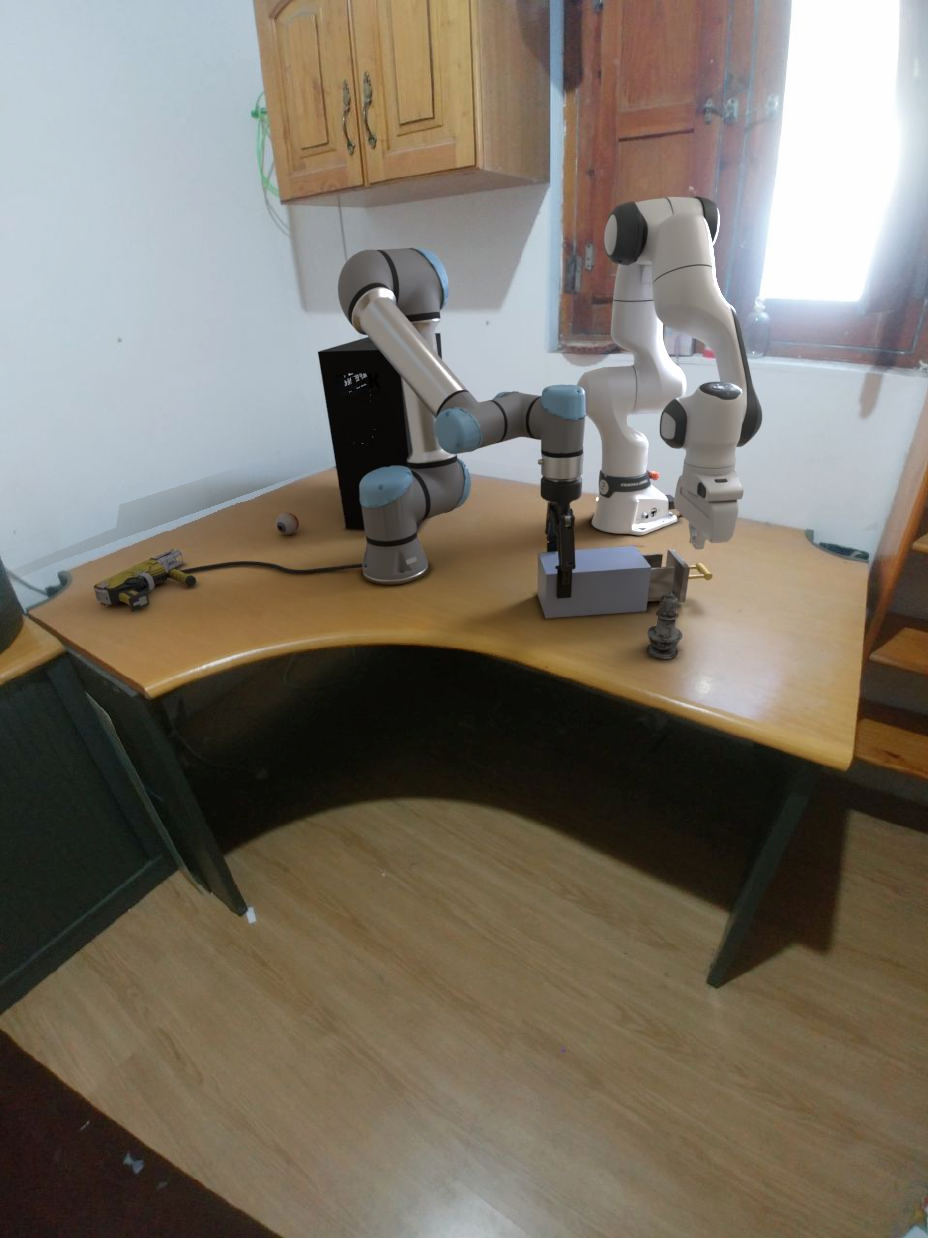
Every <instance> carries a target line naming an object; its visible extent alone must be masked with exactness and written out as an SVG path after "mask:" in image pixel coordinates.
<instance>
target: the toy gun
mask: <svg viewBox="0 0 928 1238" xmlns="http://www.w3.org/2000/svg"><path fill="white" fill-rule="evenodd" d="M179 557H181V560H177V558H179ZM183 564H184V558H183V552H182V551H181V550H179V549H174V548H171V549H169V550H167V551H164V552H163V553H161V554H159V555H156V556H155V557H150V558H148V559H146V560H144V561H142V562H139V563H138V564H135V565H133V566H131V567H129V568H127V569H125V570H122V571H120V572H118V573H116V574H113V575H112V576H110V577H108V578H106V579H104V580H101V581H99V582H97V583H95V584H93V590H94V594H95V598H96V600H97V603H99V604H100V605H101V606H105V607H107V606H117V605H121V604H127V605H128V606H129V607H130V611H131V612H136V611H138V610H141V609H143V608H145V607H147V606H148V607H149V606H150V599H149V595H148V593H149V592H151V591H154V590H155V586H156V585H159V584H161V583H164V582H165V581H168V579H171V580H174V581H177V582H178V583H182V584H183V585H184V584H185V585H186V586H187V587H193V586H195V585H196V584H197V578H196V576H194V575H192V574H188V573H183V572H181V571H179V569H176V568H177V567H180V565H183Z"/></svg>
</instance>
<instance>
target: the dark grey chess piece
mask: <svg viewBox="0 0 928 1238" xmlns="http://www.w3.org/2000/svg"><path fill="white" fill-rule="evenodd" d="M668 593H669V594H665V595H663V596H662V597H661V599H660V600H659V605H658V607H659V608H658V610H657V611H656V612H655V616H656V617H657V619H656V624H655V625H651V626H650V627H649V628H648V629H647V631H646V634H647V636H648V640H649V642H650V643H649V644H648V645H647V647H646V651H647V653H648V654H649V655H651V656H652V657H654V658H657V659H661V660H669V659H674V658H675V657H677V656H678V655H679V650H678V648H677V646H678V644H679V643H680V641H681V640H682V638H683V633H682V631H681V630H680V629H678V628H677V627H676V621H677V619H678V618H679V613H678V611H677V610H678V604H679V602H678V598H677V597H676V596H675V595H673V594H672V591H671V590H670V591H669V592H668Z"/></svg>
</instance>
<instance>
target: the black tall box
mask: <svg viewBox="0 0 928 1238" xmlns="http://www.w3.org/2000/svg"><path fill="white" fill-rule="evenodd" d="M435 336H436V344H437V352H438V356H439V357H440V358H441V359H442V360H443V351H442V338H441V336H442V335H441V332H435ZM317 355H318V363H319V368H320V374H321V381H322V386H323V393H324V400H325V407H326V412H327V419H328V425H329V431H330V437H331V445H332V450H333V457H334V463H335V468H336V469H335V470H336V476H337V481H338V482H337V483H338V488H339V494H340V500H341V507H342V513H343V519H344V526H345V529H346V530H347V529H349V530H365V527H364V520H363V514H362V507H361V503H360V490H359V485H360V482H361V480H362V478H363V477H364V476H365V475H367V474H368V473H370V472H372V471H374V470H376V469H379V468H383V467H390V466H404V467H407V468H408V466H407V458H408V456H409V455H410V453H411V451H412V448H411V441H410V435H409V428H408V422H407V415H406V408H405V402H404V395H403V389H402V382H401V376H400V374H399V373H398V372H397V371H396V370H395V368H394V367H393V366H392V365H391V364H390V362H389V361H388V360H387V359H386V357H385V356H384V355H383V354H382V353H381V351H380V350H379V349H378V348H377V347H376V345H375V344H374V343H373V342H372V340H371V339H370V338H369V337H368V336H365V337H363V338H360V339H357V340H353V341H350V342H346V343H343V344H339V345H336V346H332V347H329V348H326V349H322V350H319V351H317ZM424 522H425V520H422V521H419V522H417V523H416V526H417V530H419V528H420V527H421V526H422V524H423V523H424Z"/></svg>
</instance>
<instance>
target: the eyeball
mask: <svg viewBox="0 0 928 1238" xmlns="http://www.w3.org/2000/svg"><path fill="white" fill-rule="evenodd" d="M299 525H300V522H299V519H298V517H297V516H296V515H295V514H294V513H292V512H287V511H286V512H282V513H280V514H279V515H278V516H277V517H276V520H275V527H276V529H277V530H278V531H279V532H280V533H281V534H282V535H285V536H286V535H287V536H289V535H293V534H295V533H296V532H297V531H298V529H299Z"/></svg>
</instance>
